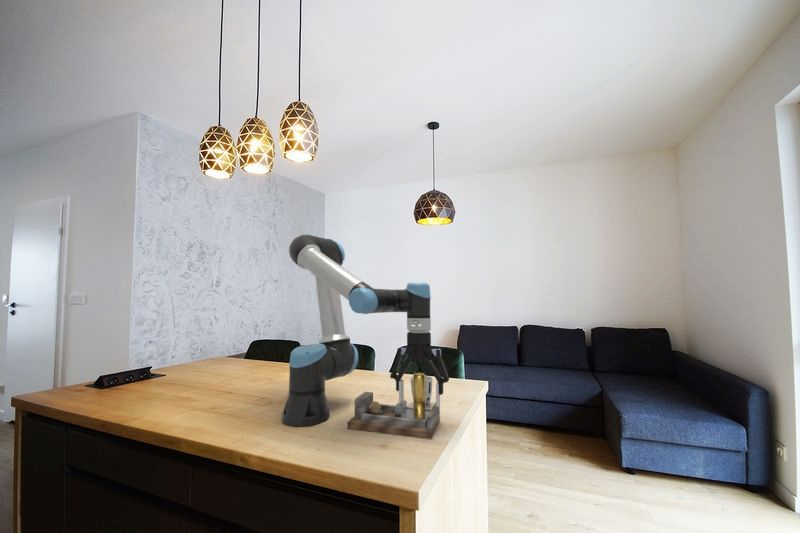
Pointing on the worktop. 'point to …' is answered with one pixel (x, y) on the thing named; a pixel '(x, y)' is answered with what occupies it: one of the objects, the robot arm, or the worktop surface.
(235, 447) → the worktop surface
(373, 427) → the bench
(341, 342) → the robot arm
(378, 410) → the nut
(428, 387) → the cup
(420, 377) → the lever
